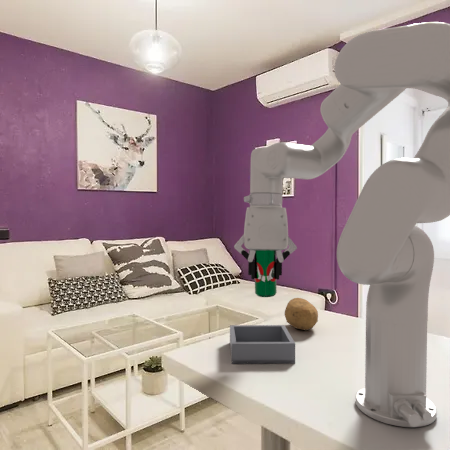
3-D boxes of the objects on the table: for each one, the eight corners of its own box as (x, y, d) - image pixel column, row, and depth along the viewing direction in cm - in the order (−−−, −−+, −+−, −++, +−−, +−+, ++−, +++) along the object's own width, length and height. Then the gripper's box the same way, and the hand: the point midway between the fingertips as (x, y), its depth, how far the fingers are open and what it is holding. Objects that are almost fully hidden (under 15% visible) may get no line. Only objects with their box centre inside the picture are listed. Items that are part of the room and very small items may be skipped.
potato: (288, 336, 105) (288, 306, 105) (281, 321, 119) (281, 295, 119) (324, 336, 105) (324, 306, 105) (313, 321, 119) (313, 295, 119)
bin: (295, 363, 86) (295, 343, 86) (231, 364, 86) (231, 343, 86) (284, 342, 100) (284, 325, 100) (229, 342, 100) (229, 325, 100)
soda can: (276, 292, 95) (275, 243, 94) (276, 297, 90) (275, 245, 89) (255, 292, 95) (254, 243, 95) (254, 297, 90) (253, 246, 90)
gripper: (229, 200, 88) (228, 281, 89) (305, 201, 88) (304, 281, 89) (229, 201, 95) (228, 275, 96) (299, 202, 95) (297, 276, 96)
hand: (264, 277), depth 92 cm, fingers closed on soda can, 5 cm apart
